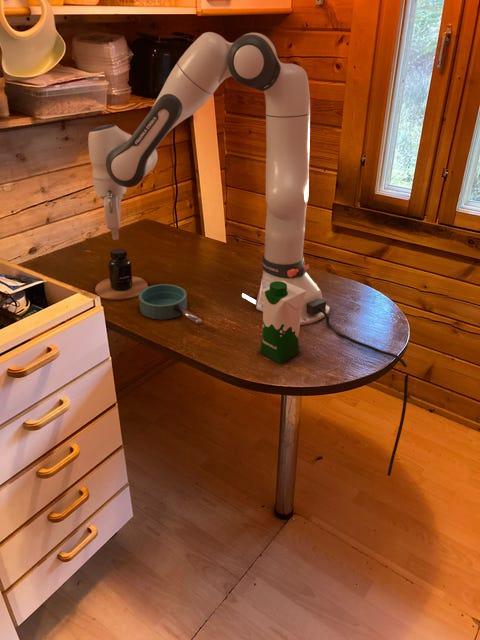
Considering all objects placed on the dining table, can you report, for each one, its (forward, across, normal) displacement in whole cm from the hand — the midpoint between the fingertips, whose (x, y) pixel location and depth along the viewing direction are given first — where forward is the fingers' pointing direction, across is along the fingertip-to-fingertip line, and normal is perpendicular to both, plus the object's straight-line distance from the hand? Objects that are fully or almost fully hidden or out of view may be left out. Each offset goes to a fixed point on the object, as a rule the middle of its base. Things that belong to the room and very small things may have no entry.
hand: (116, 233), depth 150 cm
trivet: (+18, 0, 0) cm, 18 cm away
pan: (+18, -15, -12) cm, 26 cm away
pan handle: (+16, -25, -18) cm, 35 cm away
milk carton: (+19, -43, -39) cm, 61 cm away
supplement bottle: (+18, 0, 0) cm, 18 cm away
